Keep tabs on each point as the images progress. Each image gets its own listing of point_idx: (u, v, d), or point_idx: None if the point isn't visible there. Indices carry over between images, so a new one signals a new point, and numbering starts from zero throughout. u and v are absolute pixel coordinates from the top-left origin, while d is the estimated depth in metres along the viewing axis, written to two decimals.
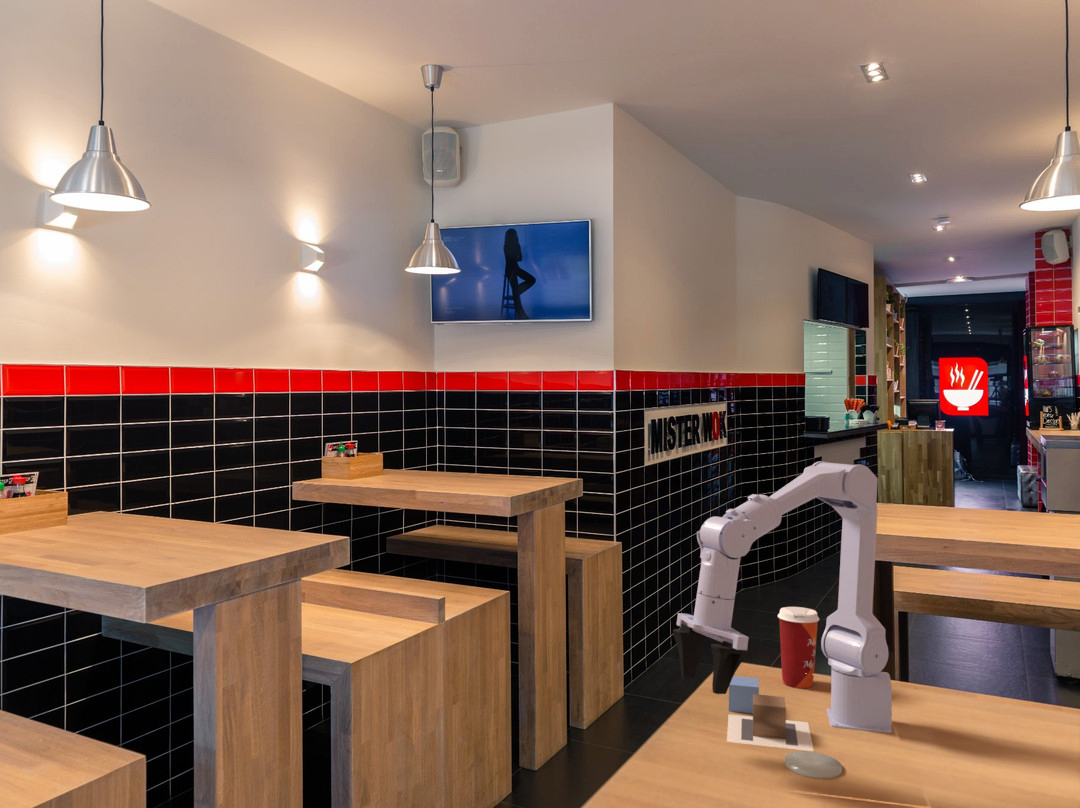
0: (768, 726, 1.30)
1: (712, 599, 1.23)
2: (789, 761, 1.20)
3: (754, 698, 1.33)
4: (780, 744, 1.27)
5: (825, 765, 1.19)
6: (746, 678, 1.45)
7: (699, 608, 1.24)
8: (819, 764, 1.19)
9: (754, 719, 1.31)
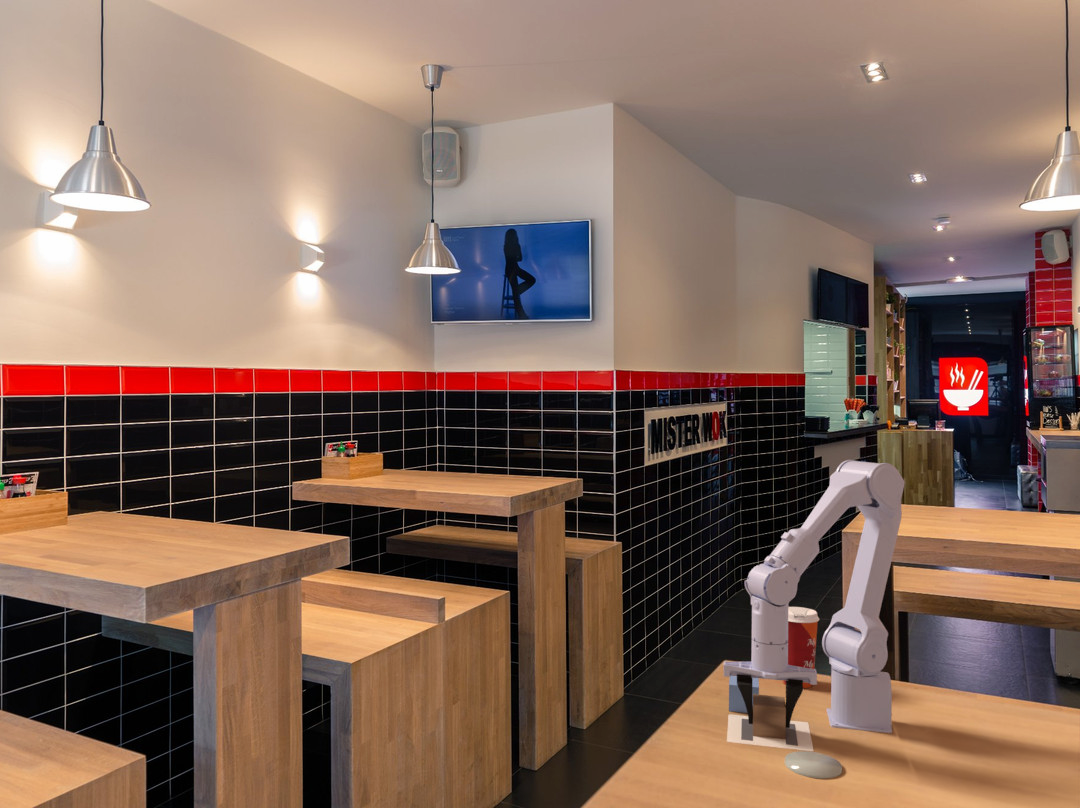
0: (768, 726, 1.30)
1: (782, 646, 1.30)
2: (789, 761, 1.20)
3: (754, 698, 1.33)
4: (780, 744, 1.27)
5: (825, 765, 1.19)
6: None
7: (770, 658, 1.30)
8: (819, 764, 1.19)
9: (754, 719, 1.31)
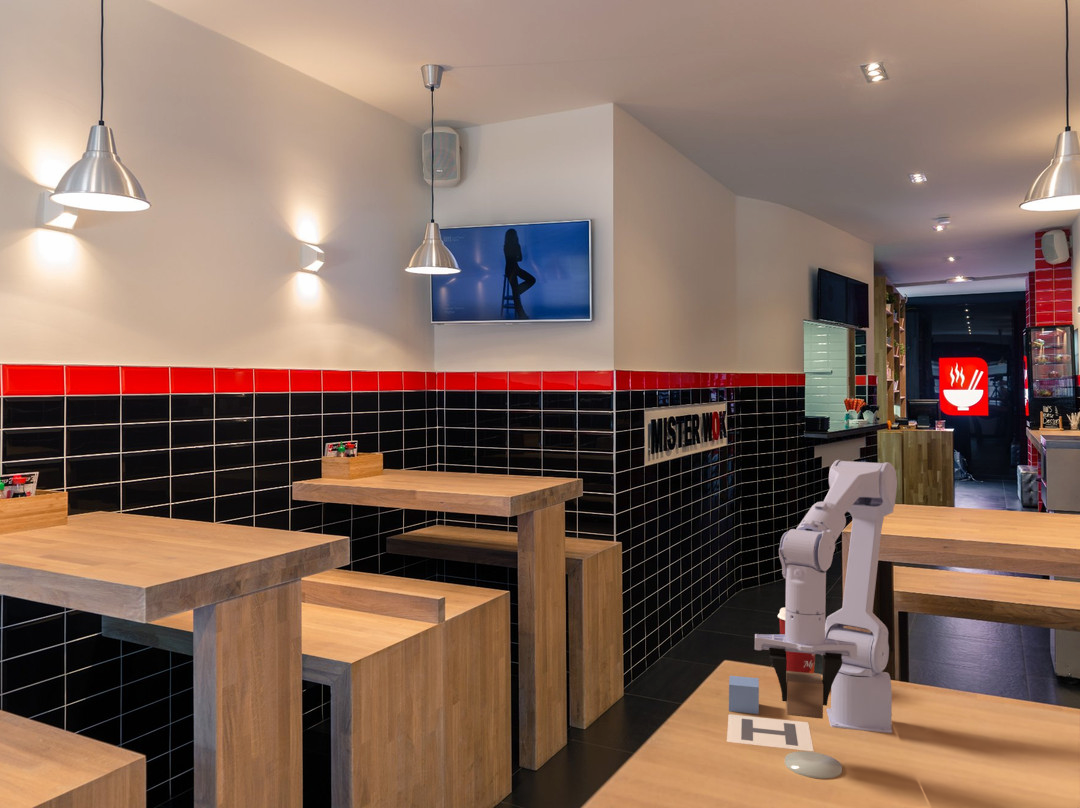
0: (804, 704, 1.20)
1: (819, 616, 1.20)
2: (789, 761, 1.20)
3: (788, 675, 1.23)
4: (780, 744, 1.27)
5: (825, 765, 1.19)
6: (746, 678, 1.45)
7: (806, 629, 1.19)
8: (819, 764, 1.19)
9: (788, 697, 1.20)
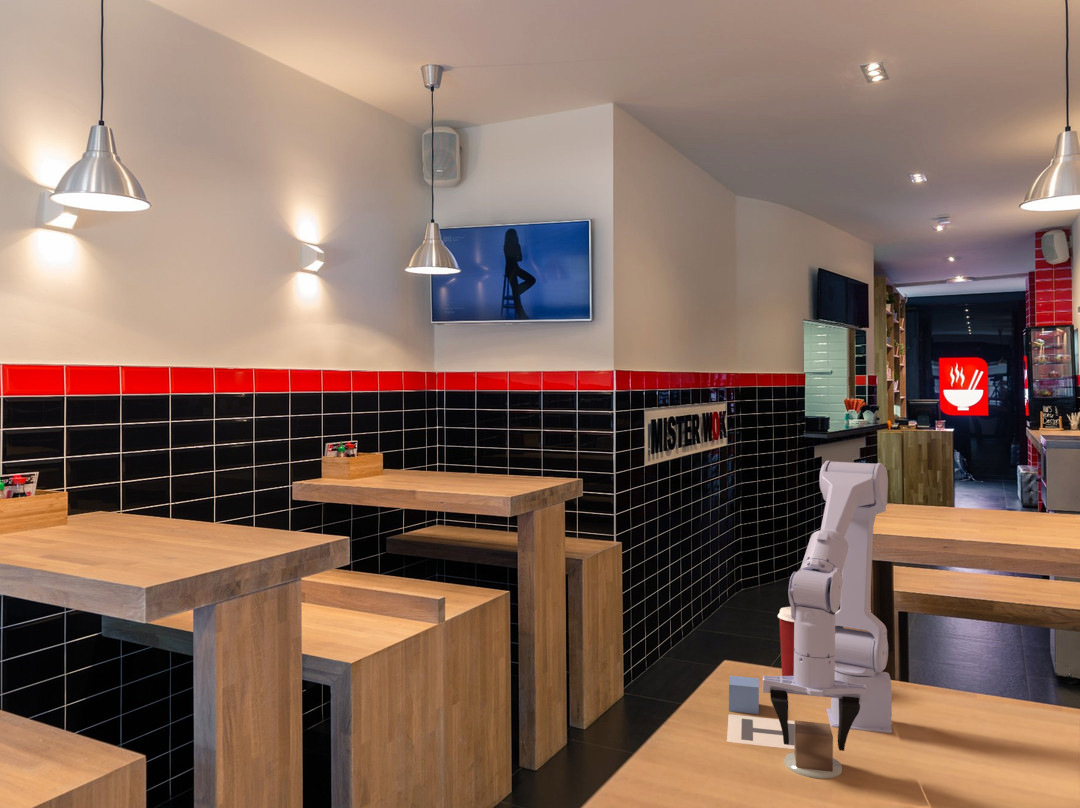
0: (813, 757, 1.17)
1: (829, 659, 1.17)
2: (789, 761, 1.20)
3: (796, 725, 1.21)
4: (780, 744, 1.27)
5: None
6: (746, 678, 1.45)
7: (816, 673, 1.17)
8: None
9: (797, 749, 1.18)
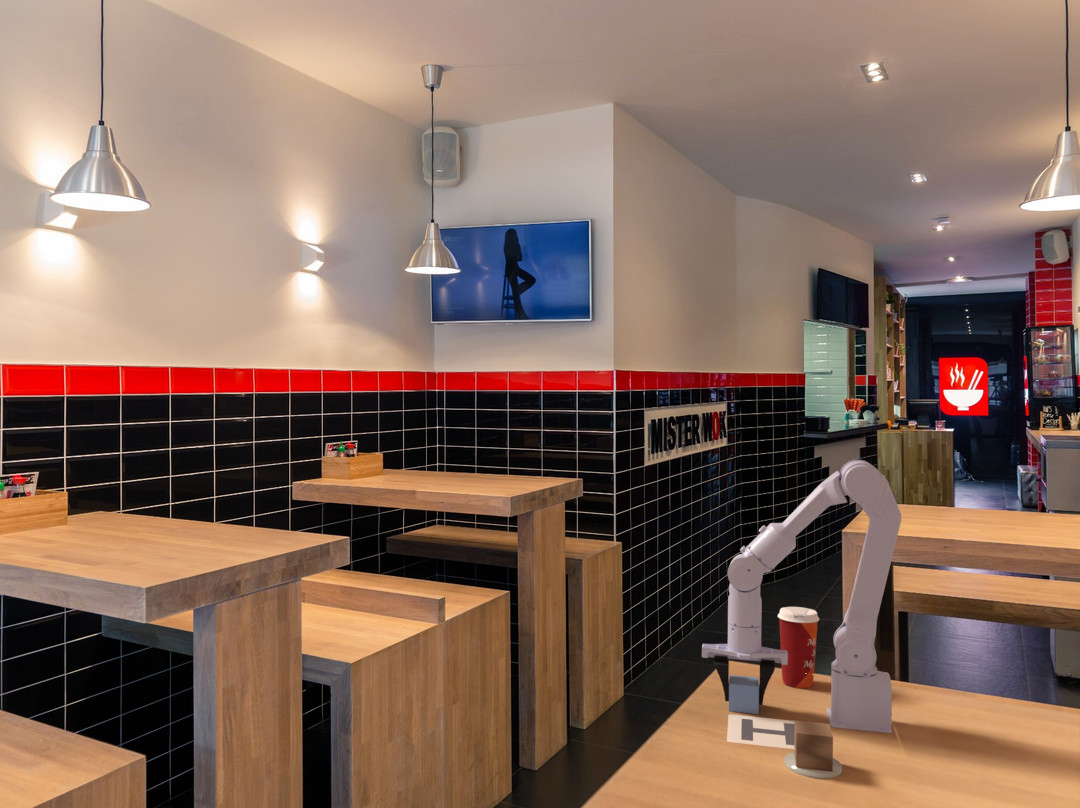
0: (813, 757, 1.17)
1: (755, 629, 1.41)
2: (789, 761, 1.20)
3: (796, 725, 1.21)
4: (780, 744, 1.27)
5: None
6: (746, 677, 1.45)
7: (744, 640, 1.40)
8: None
9: (797, 749, 1.18)
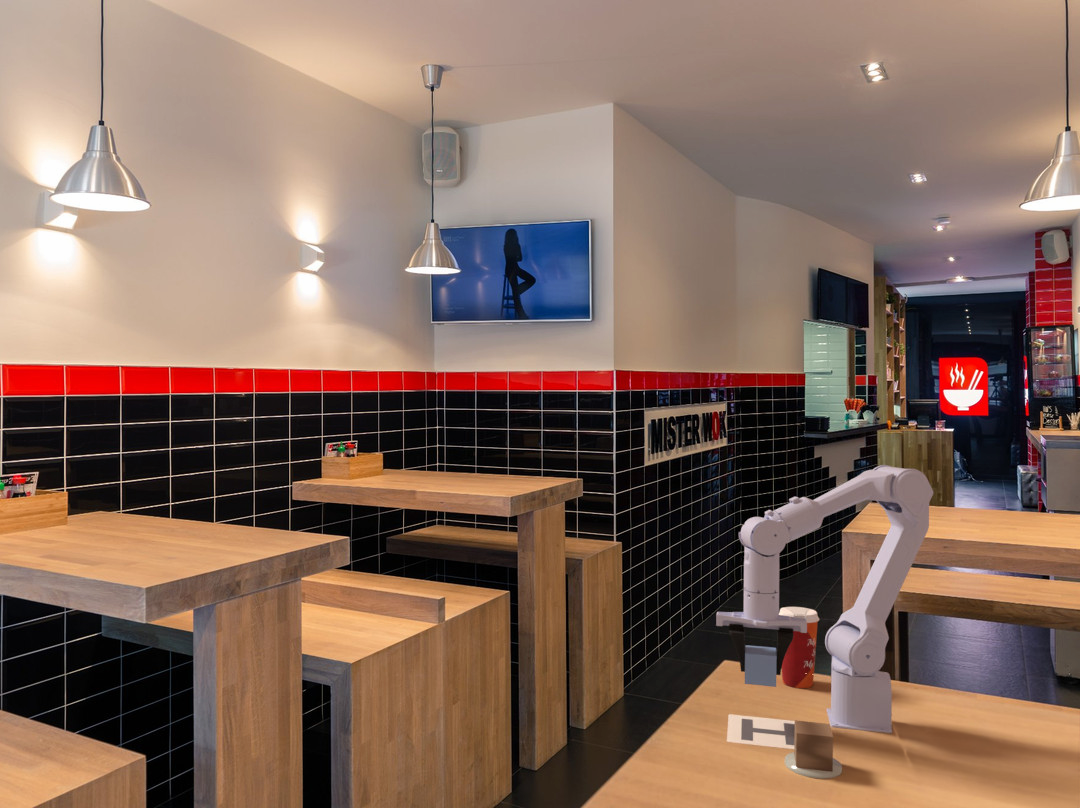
0: (814, 757, 1.17)
1: (773, 595, 1.34)
2: (789, 761, 1.20)
3: (796, 725, 1.21)
4: (780, 744, 1.27)
5: None
6: (763, 647, 1.38)
7: (761, 607, 1.33)
8: None
9: (797, 749, 1.18)
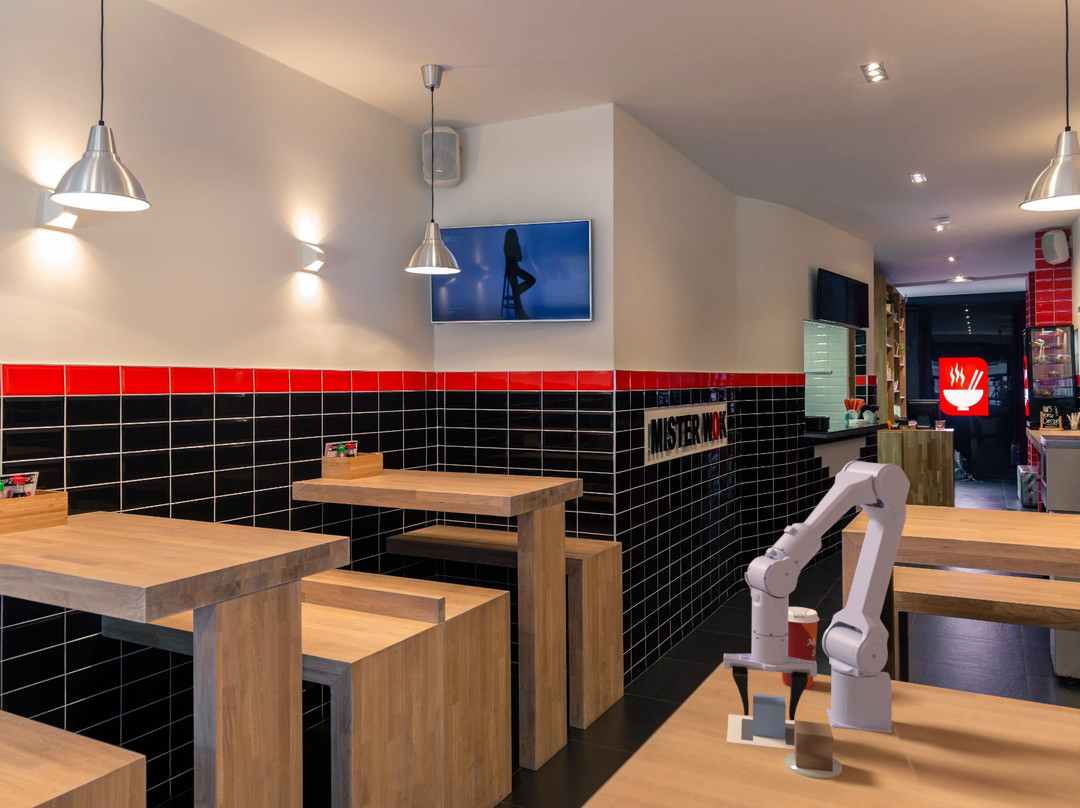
0: (814, 757, 1.17)
1: (782, 638, 1.30)
2: (789, 761, 1.20)
3: (796, 725, 1.21)
4: (780, 744, 1.27)
5: None
6: (771, 696, 1.34)
7: (770, 650, 1.30)
8: None
9: (797, 749, 1.18)
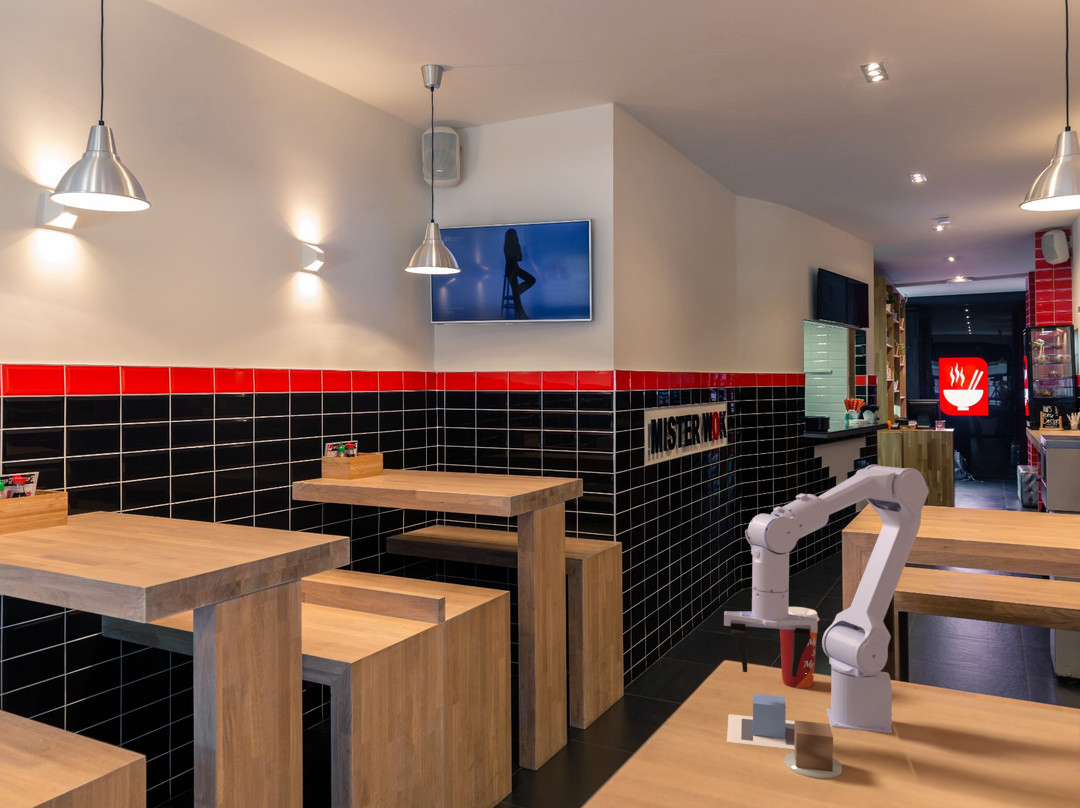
0: (814, 757, 1.17)
1: (782, 594, 1.30)
2: (789, 761, 1.20)
3: (796, 725, 1.21)
4: (780, 744, 1.27)
5: None
6: (771, 696, 1.34)
7: (771, 606, 1.30)
8: None
9: (797, 749, 1.18)
